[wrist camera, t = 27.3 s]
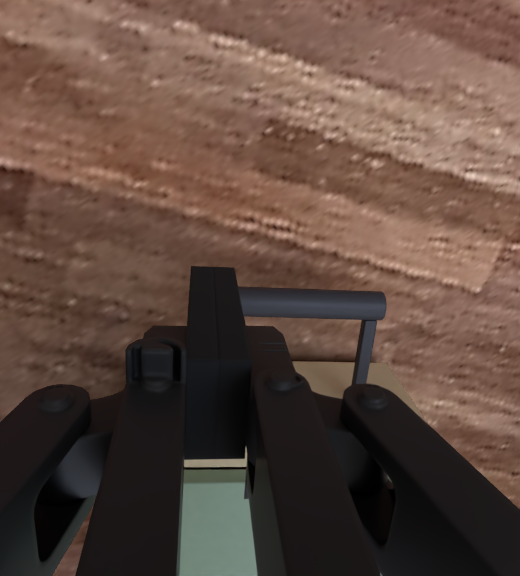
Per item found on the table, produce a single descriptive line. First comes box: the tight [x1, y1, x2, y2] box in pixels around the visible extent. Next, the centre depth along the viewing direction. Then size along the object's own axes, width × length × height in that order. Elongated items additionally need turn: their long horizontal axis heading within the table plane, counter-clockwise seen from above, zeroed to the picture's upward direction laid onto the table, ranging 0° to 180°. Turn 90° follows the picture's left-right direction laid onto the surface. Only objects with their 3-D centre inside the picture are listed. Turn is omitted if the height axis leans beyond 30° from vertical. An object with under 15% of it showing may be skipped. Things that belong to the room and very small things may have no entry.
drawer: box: [184, 287, 429, 470], centre depth 27 cm, size 21×14×8 cm, turn 176°
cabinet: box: [179, 469, 391, 576], centre depth 29 cm, size 16×15×10 cm
